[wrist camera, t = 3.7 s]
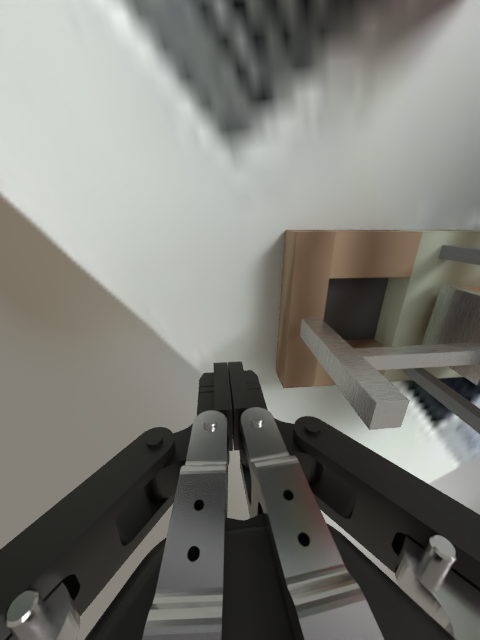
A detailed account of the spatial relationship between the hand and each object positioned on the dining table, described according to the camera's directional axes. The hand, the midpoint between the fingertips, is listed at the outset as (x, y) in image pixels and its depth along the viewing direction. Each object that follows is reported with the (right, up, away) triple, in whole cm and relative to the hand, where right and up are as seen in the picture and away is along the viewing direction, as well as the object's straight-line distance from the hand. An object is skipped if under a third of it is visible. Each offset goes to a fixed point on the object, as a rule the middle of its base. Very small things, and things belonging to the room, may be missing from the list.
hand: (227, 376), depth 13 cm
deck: (+20, +5, +12) cm, 24 cm away
